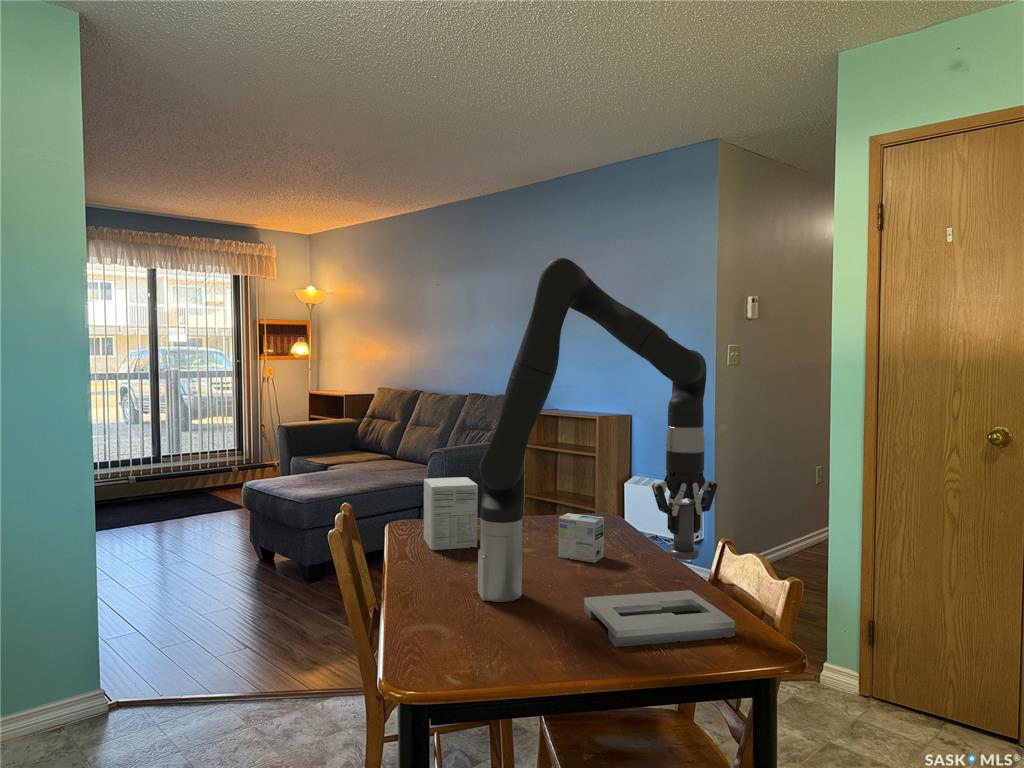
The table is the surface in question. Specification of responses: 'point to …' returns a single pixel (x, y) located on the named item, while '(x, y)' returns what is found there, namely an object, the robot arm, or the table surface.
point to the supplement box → (450, 513)
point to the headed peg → (684, 534)
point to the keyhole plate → (658, 618)
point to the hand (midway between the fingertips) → (684, 532)
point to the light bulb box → (581, 537)
